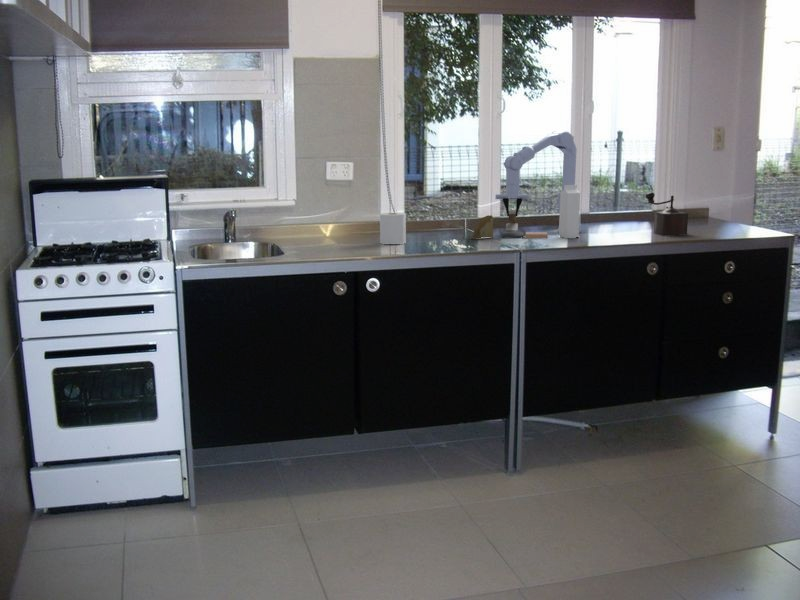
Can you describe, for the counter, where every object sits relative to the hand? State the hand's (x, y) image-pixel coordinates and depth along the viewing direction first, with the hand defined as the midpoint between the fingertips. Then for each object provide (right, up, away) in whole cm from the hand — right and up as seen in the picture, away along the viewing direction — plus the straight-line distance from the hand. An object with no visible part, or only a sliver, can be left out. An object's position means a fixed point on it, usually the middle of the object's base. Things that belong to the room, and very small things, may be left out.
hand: (512, 216), depth 374 cm
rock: (-14, -10, -9) cm, 19 cm away
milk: (+23, -10, -8) cm, 26 cm away
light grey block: (-51, -13, -22) cm, 57 cm away
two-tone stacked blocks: (0, -5, -2) cm, 5 cm away
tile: (+10, -8, -3) cm, 13 cm away
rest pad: (0, -9, -2) cm, 9 cm away
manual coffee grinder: (+66, -8, 0) cm, 66 cm away
